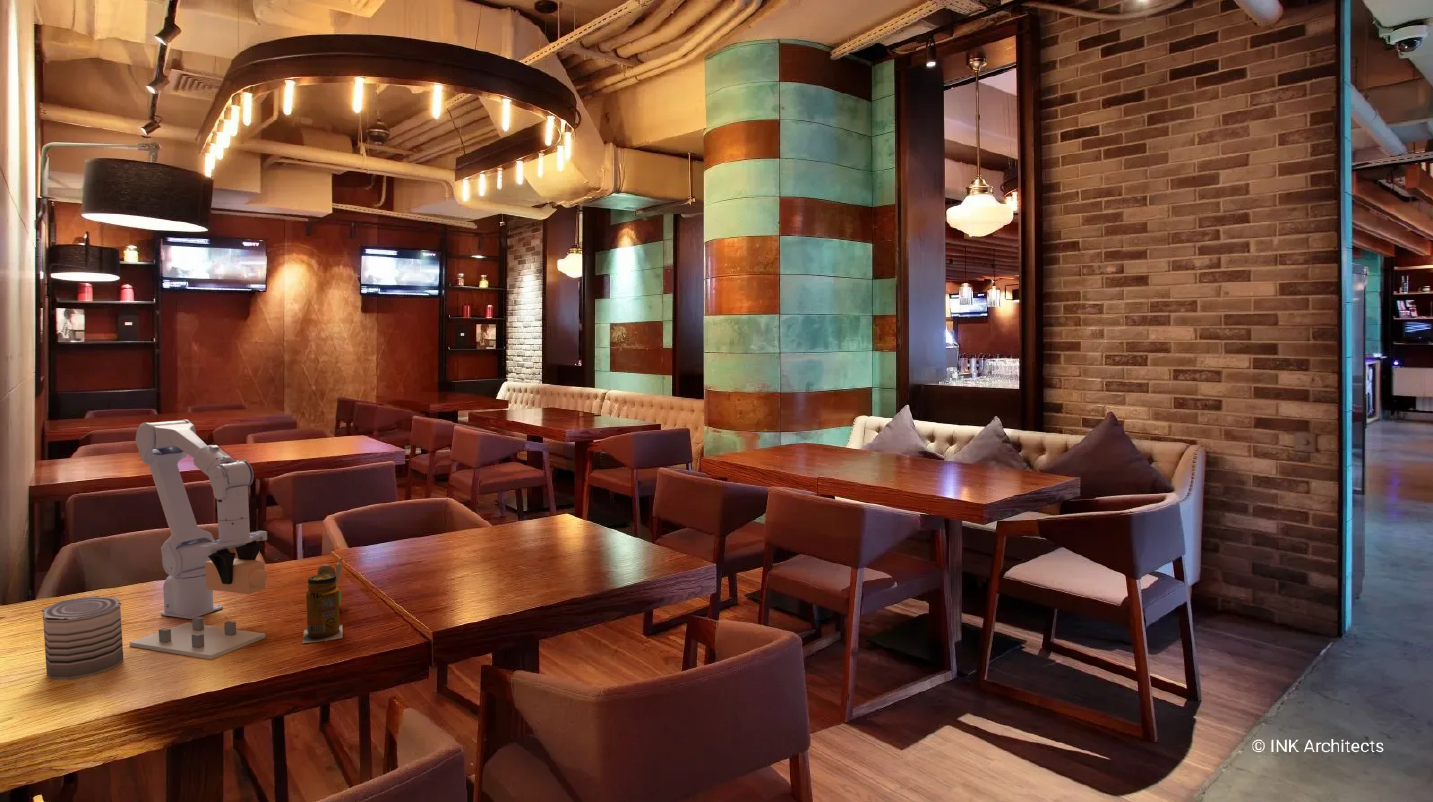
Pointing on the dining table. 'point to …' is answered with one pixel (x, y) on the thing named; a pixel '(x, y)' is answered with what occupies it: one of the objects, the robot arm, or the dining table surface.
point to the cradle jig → (198, 639)
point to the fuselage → (238, 577)
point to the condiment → (322, 609)
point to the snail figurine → (332, 572)
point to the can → (82, 637)
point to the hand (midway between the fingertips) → (236, 580)
